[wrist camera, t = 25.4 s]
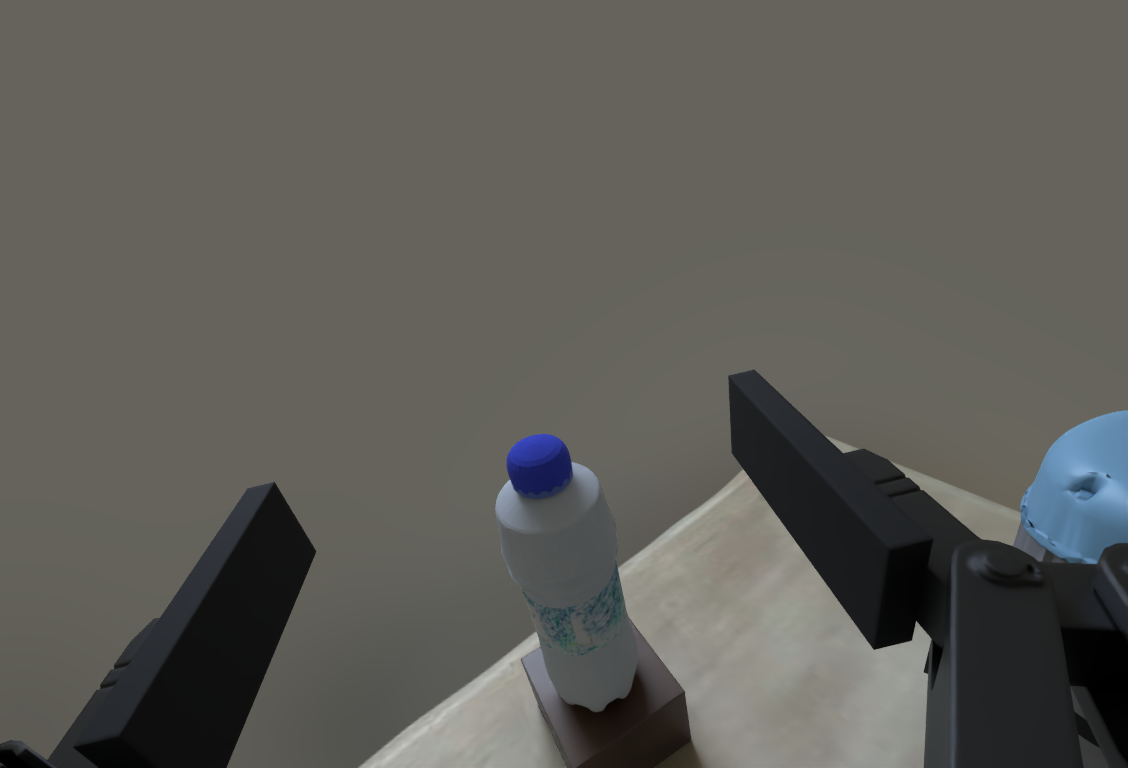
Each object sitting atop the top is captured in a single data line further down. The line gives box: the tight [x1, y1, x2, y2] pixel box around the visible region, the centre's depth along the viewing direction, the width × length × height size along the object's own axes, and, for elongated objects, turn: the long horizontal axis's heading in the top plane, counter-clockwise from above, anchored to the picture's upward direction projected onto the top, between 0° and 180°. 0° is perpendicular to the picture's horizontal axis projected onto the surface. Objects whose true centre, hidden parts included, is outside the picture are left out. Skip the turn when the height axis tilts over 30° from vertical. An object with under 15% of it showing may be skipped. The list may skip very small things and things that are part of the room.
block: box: [521, 619, 691, 768], centre depth 37 cm, size 8×8×6 cm
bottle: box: [495, 434, 638, 712], centre depth 31 cm, size 7×7×20 cm
